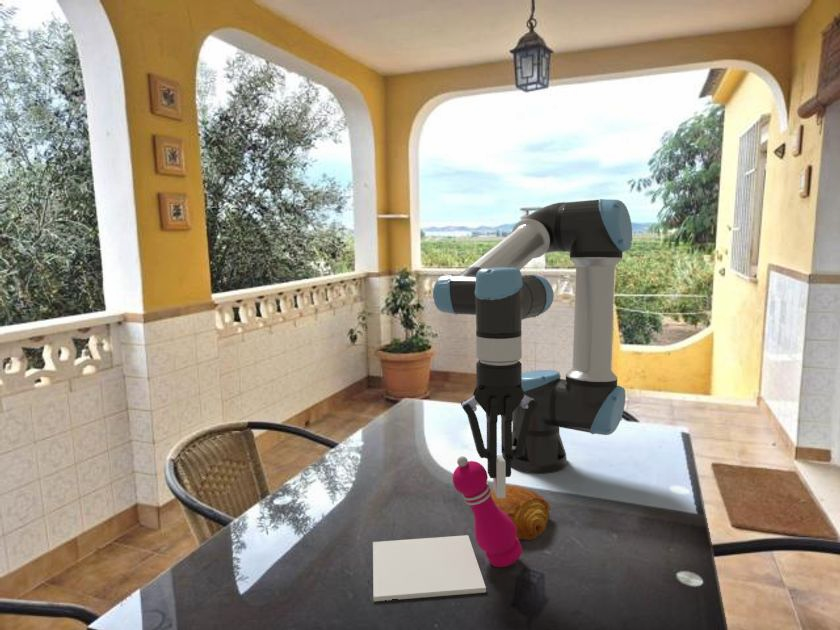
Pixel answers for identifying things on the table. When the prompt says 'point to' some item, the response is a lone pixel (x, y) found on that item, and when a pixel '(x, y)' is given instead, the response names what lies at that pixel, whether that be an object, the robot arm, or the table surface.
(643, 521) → the table surface
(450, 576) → the white mat
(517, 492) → the croissant
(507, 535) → the pepper mill
